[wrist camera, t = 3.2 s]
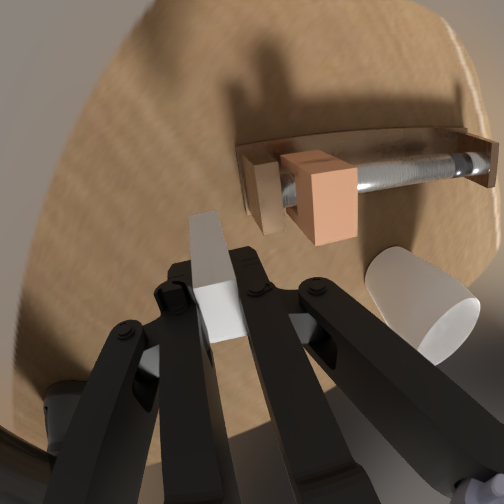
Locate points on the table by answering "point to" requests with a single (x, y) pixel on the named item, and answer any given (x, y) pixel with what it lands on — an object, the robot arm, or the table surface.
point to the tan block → (323, 196)
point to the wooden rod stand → (363, 163)
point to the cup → (421, 302)
